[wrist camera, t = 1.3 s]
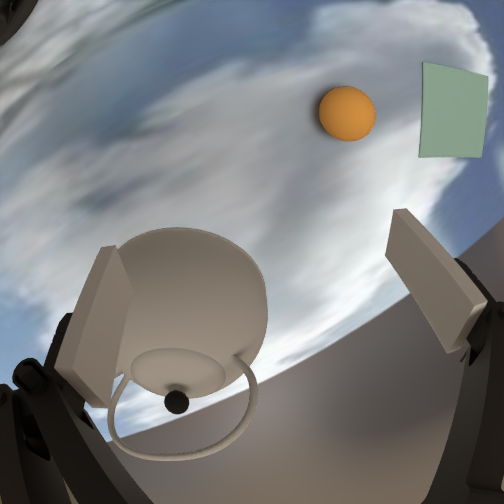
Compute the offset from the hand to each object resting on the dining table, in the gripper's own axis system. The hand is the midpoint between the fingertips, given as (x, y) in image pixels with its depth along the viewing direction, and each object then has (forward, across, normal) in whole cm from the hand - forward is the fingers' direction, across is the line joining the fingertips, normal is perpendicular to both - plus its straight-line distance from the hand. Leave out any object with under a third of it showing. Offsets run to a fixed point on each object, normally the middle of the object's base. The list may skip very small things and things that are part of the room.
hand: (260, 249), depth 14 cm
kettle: (+20, -11, -21) cm, 30 cm away
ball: (+16, +11, +3) cm, 20 cm away
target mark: (+19, +28, +3) cm, 34 cm away
